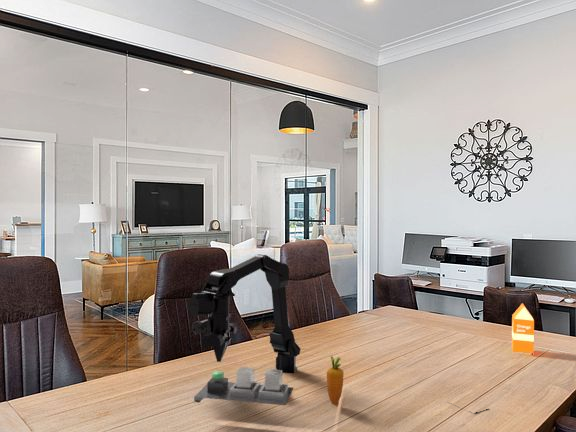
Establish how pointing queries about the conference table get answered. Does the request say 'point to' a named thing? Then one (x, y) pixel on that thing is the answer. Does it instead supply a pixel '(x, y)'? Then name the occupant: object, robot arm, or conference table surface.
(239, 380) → the aluminium block
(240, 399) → the dark grey fixture board
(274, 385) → the block
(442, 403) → the conference table surface
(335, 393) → the carrot
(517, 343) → the orange juice
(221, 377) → the button
